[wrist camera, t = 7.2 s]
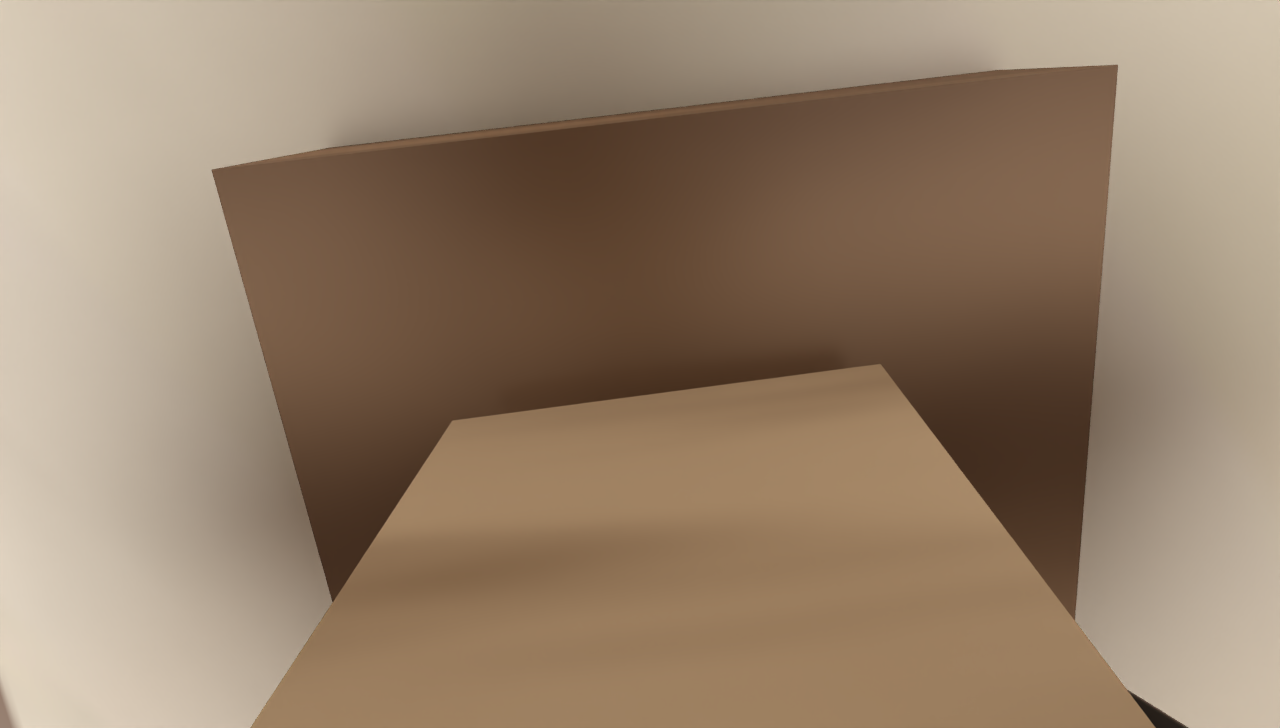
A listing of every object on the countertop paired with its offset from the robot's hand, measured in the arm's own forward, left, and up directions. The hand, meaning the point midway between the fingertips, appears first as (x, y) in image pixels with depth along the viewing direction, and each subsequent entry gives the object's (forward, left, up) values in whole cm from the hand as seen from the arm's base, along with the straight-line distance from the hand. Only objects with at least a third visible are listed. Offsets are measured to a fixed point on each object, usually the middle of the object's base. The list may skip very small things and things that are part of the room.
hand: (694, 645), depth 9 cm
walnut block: (0, 0, -7) cm, 7 cm away
